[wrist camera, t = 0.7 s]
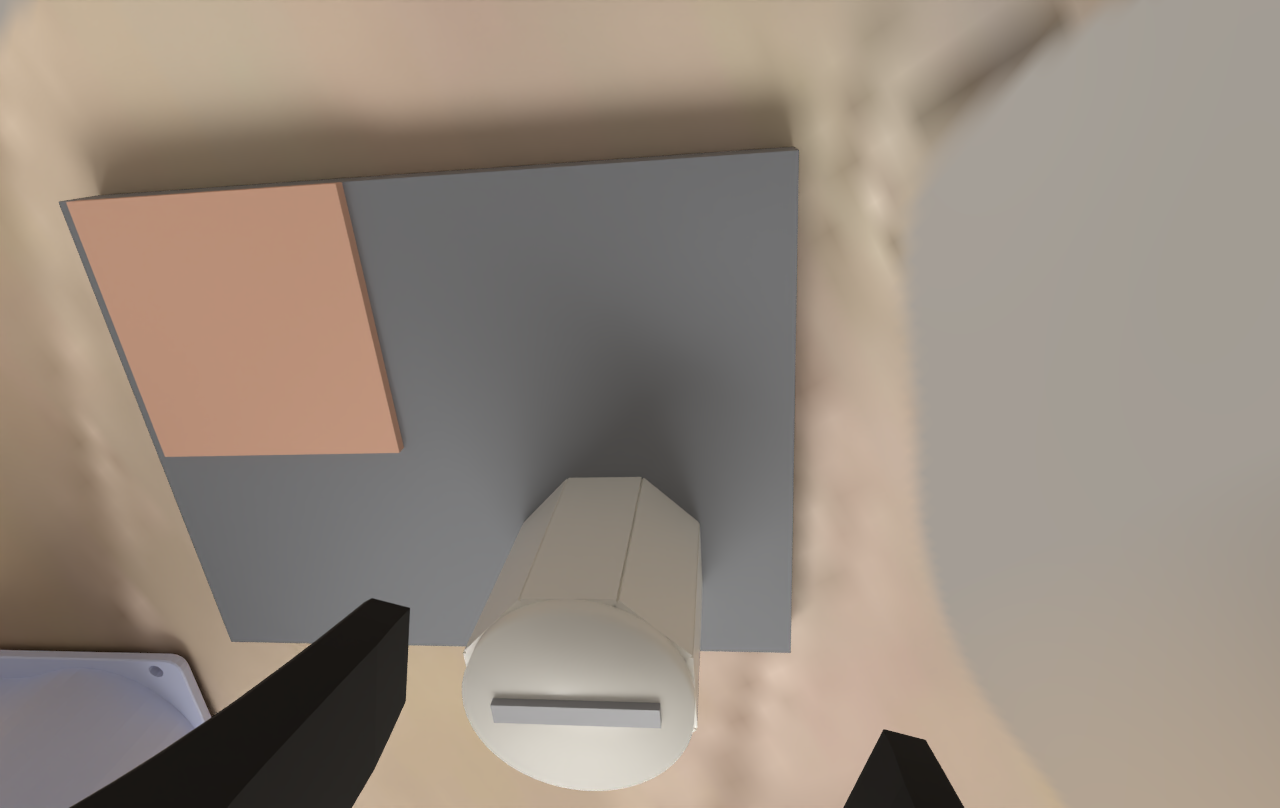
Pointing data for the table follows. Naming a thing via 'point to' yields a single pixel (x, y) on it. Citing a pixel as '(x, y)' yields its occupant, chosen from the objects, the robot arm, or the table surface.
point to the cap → (592, 639)
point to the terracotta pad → (244, 319)
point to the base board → (532, 393)
